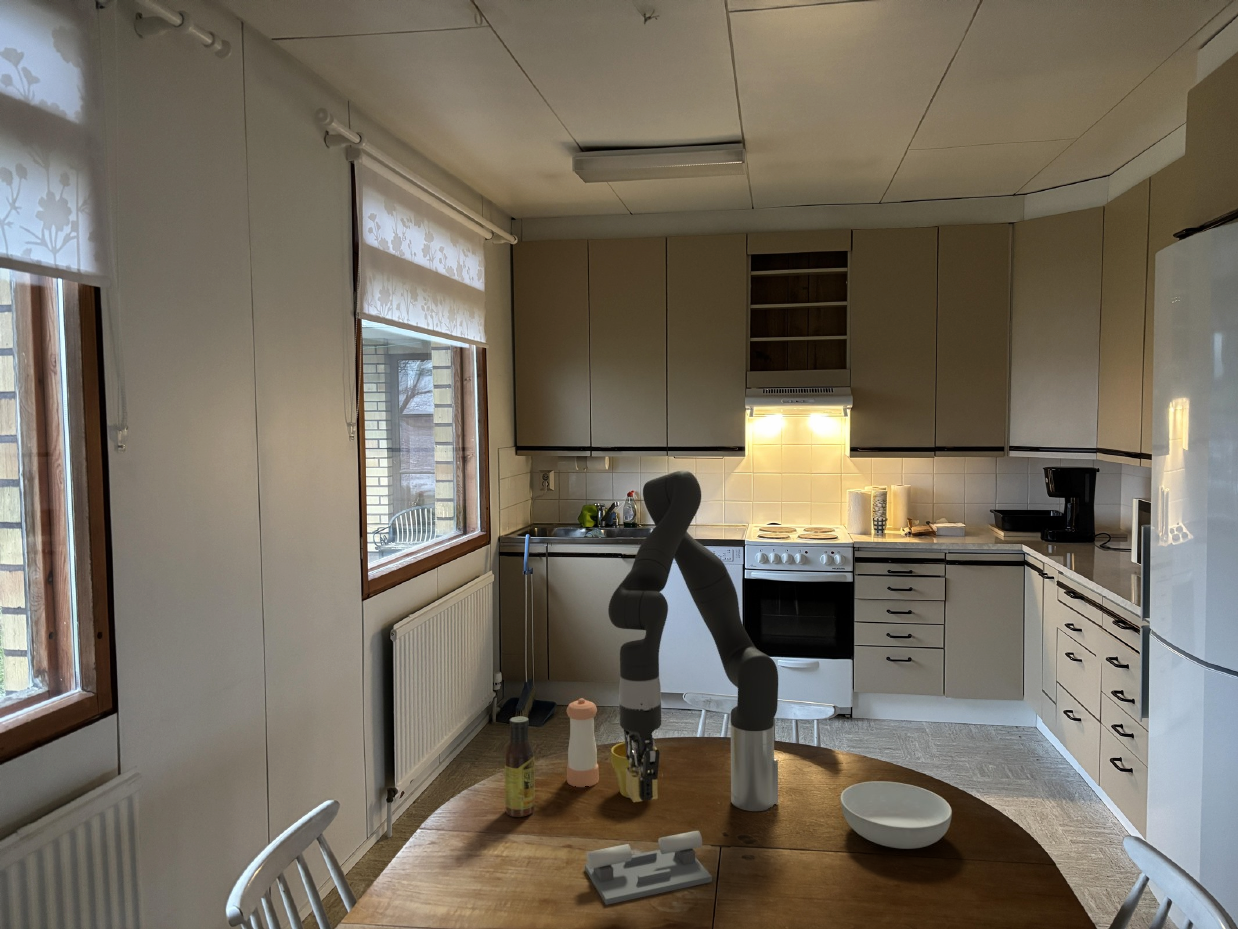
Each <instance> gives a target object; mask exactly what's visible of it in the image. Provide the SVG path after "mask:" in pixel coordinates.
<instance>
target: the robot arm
mask: <svg viewBox="0 0 1238 929" xmlns="http://www.w3.org/2000/svg"><path fill="white" fill-rule="evenodd" d="M642 497H643V502H644V504H645V508H646V510H647V512H648V515H649V516H650V518H651V520H652V522H653V523H654V525H655V527H654V528H653V529H651V531H650V532H649V533H648V534H647V535H646V537H645V538H644V540H643V541H642V542H641V544H640V546H639V547H638V550H637V552H636V555H635V557H634V561H633V565H632V567H631V569H630V571H629V572H628V573H627V575H626V576H625V578H624V579H623V580H622V582H621V583H620V584H619V585H618V587H616V589H615V591H614V592H613V593H612V596H611V597H610V600H609V603H608V618H609V620H610V622H611V624H612V625H613V626H614V627H616V628H618V629H622V630H635V631H636V630H637V631H645V636H644V638H641V639H637V640H636V639H635V640H630V641H627V642H624V643H623V644H622V645H621V646H620V650H619V668H620V671H619V672H620V674H619V675H620V677H619V685H618V687H619V688H618V694H619V696H618V697H619V698H618V699H619V701H618V702H619V726H620V727H621V728H622V729H623V733H624V734H623V735H624V736H623V737H624V742H625V747H626V758H627V760H629V765H630V767H633V766H637V767H638V769H639V779H640V798H641V800H642V801H641V802H644V801H650V800H651V799H652V798H653V784H652V780H656V779H657V780H658V777H659V776H658V774H659V764H660V750H659V749H658V748H657V750H654V747H656V743H655V738H654V737H653V733H654V732H655V731H656V730H658V729H659V728H660V727H661V726H662V689H661V687H662V686H661V681H660V661H659V660H660V649H661V648H660V646H661V642H662V637H663V636H662V635H663V632H664V628H665V626H666V621H667V618H668V613H669V605H668V601H667V599H666V597H665V596H664V594H663V593H661V592H662V591H663V590H664V589H665V587H666V585H667V582H668V579H669V576H670V572H671V570H672V565H673V562H674V560H675V563H676V565H677V568H678V570H679V571H680V574H681V575H682V578H683V580H684V582H685V586H686V587H687V589H688V592H689V594H690V596H691V598H692V601H693V603H694V605H695V606H696V608H697V610H698V612H699V614H700V615H701V618H702V619H703V622H704V623H705V625H706V627H707V629H708V632H710V634H711V636H712V638H713V640H714V641H713V642H714V643H715V646H716V649H717V652H718V655H719V657H720V660H721V664H722V667H723V670H724V672H725V675H726V677H727V679H728V680H729V681H730V682H731V684H732V685H733V686H735V687H736V688H737V703H736V704H737V705H736V706H734V707H733V708H731V711H730V794H731V795H730V800H731V803H732V805H733V806H734V807H736V808H738V809H741V810H743V811H747V812H760V811H761V812H762V811H768V810H769V809H768V808H770V807H771V808H773V807H774V806H775V805H774V804H776V805H778V804H779V760H777V758H775V717H776V714H777V713H778V712H777V711H778V703H779V672H778V671H779V670H778V667H777V665H776V662H775V660H774V659H773V658H771V657H770V656H769V655H768V654H766V653H764V652H762V651H760V650H759V649H757V647H756V646H755V644H754V642H752V640H751V637H750V636H749V634H748V633H747V631H746V629H745V626H744V624H743V622H742V620H741V619H742V618H741V614H740V612H741V611H740V607H739V605H740V604H739V597H738V593H737V589H736V587H735V584H734V582H733V579H732V578H731V575H730V573H729V570H728V568H727V567H726V564H725V563H724V561H722V560H721V558H720V557H718V556H717V554H715V553H713V552H712V551H711V550H710V549H708V548H707V547H706V546H704V545H703V544H701V543H700V542H699V541H698V540H696V539H695V538H694V537H693V536H692V535H691V534H690V533H689V532H688V529H689V528H690V526H691V523H692V521H693V520H694V517H696V514H697V512H698V511H699V508H700V506H701V502H702V488H701V486H700V483H699V481H698V479H697V477H696V476H695V475H694V474H693V473H692V472H691V471H689V470H683V469H682V470H677V471H674V472H670V473H668V474H665V475H661V476H659V477H656V478H653V479H651V480H648V481H647V482H645V484H644V485H643V488H642ZM648 771H649V772H648ZM652 800H653V799H652ZM777 803H778V804H777ZM773 805H774V806H773ZM771 808H770V809H771Z"/></svg>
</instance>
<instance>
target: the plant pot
mask: <svg viewBox="0 0 1238 929" xmlns="http://www.w3.org/2000/svg"><path fill="white" fill-rule="evenodd" d="M657 749H658V748H657V747H656V746H655V747H654V750H657ZM610 761H611V763H610V764H611V767H612V768H613V769H614V773H615V776H616V780H617V784H618V788H619V793H620V794H621V795H622V796H623V797H625V798H628V799H631V798H630V796H629V795H628V793H627V792H626V767H630V765H629V760H627V758H626V747H625V741H623V742H621V743H616V744H615V745H614V746H612V748H611V749H610Z"/></svg>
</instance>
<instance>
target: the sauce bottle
mask: <svg viewBox="0 0 1238 929" xmlns="http://www.w3.org/2000/svg"><path fill="white" fill-rule="evenodd" d="M529 725H530V724H529V718H528V717H526V716H521V715H520V716H514V717H511V718H510V719H509V727H510V736H509V740H510V742H509V743H508V744H507V745H506V749H505V754H504V759H505V762H504V803H505V804H504V805H505V813H506V814H507V815H508V816H510V817H513V818H523V817H526V816H529V815H531V814H533V812H534V810H535V803H536V802H535V801H536V798H535V796H536V795H535V794H536V793H535V791H536V790H535V788H536V786H535V753H534V751H533V748H532V745H531V743H530V740H529V738H530V737H529Z"/></svg>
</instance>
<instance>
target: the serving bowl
mask: <svg viewBox="0 0 1238 929" xmlns="http://www.w3.org/2000/svg"><path fill="white" fill-rule="evenodd" d="M840 805H841V809H842V810H841V811H842V814H843V816H844V819H845V820H846V822H847V823H848V825H849V826H850V827H851V829H853V831H854V832H855V833H857V834H858V835H859V836H861V837H863V838H864V839H866V840H868V841H870V842H873V843H874V844H878V845H880V846H884V847H889V848H893V849H894V848H895V849H903V850H904V849H908V850H909V849H911V850H912V849H920V848H924V847H928V846H931V845H932V844H934V843H937V842H938V841H939V840H941V839H942V838H943V836H944V835H946V833H947V831H948V830H949V828H950V826H951V825H950V824H951V821H952V816H953V811H952V807H951V806H950V804H949V802H947V800H946V799H944V797H942V796H940V795H938V794H936V793H935V792H932V791H931V790H928V789H925V788H922V787H919V786H916V785H912V784H908V783H901V782H896V781H895V782H894V781H884V780H882V781H880V780H879V781H878V780H875V781H865V782H863V781H862V782H860V783H855V784H852V785H850V786H848V787H846V788H845V789H843V791H842V792H841V794H840Z"/></svg>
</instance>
